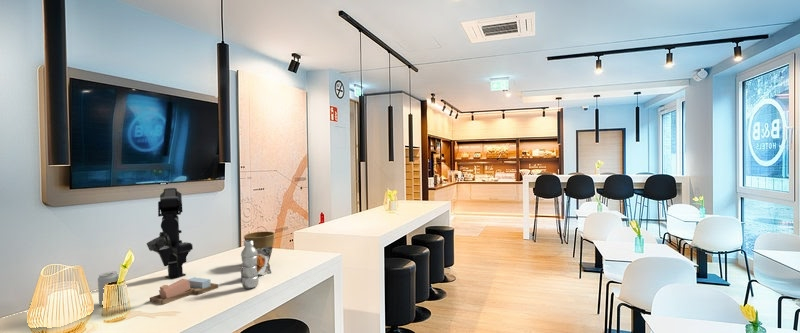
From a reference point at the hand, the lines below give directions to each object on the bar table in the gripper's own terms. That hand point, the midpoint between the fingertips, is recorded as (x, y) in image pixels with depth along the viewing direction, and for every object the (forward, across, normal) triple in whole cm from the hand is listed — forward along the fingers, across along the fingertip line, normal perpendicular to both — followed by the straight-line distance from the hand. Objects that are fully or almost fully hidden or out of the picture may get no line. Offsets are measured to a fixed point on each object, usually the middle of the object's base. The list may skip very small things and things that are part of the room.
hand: (172, 267), depth 152 cm
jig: (+12, 0, +4) cm, 13 cm away
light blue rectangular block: (+12, 0, +11) cm, 16 cm away
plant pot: (+12, -3, +47) cm, 49 cm away
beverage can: (+12, -17, -15) cm, 26 cm away
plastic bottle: (+12, +21, +20) cm, 31 cm away
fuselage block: (+11, 0, +1) cm, 11 cm away
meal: (+12, +13, +31) cm, 36 cm away
